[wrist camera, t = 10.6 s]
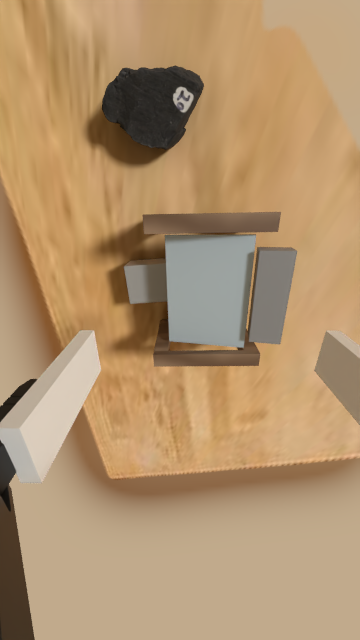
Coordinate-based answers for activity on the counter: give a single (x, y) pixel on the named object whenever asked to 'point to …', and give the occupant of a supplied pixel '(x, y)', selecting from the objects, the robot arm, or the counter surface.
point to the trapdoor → (226, 289)
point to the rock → (153, 103)
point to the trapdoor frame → (207, 225)
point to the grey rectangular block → (146, 280)
